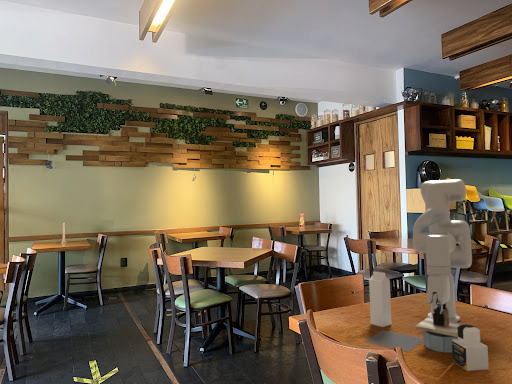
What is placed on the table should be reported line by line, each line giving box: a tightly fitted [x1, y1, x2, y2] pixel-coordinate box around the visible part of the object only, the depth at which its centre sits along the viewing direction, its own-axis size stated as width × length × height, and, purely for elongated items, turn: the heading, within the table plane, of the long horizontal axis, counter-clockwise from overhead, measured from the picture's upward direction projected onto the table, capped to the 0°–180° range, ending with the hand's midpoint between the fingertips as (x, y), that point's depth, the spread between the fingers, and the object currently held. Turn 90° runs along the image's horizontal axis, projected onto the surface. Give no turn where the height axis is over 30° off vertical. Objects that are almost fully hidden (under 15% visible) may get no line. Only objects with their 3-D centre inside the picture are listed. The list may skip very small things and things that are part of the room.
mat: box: [364, 329, 424, 353], centre depth 139 cm, size 16×16×1 cm
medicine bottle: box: [451, 324, 490, 372], centre depth 117 cm, size 7×7×12 cm
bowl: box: [422, 330, 458, 353], centre depth 132 cm, size 11×11×6 cm
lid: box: [414, 309, 468, 337], centre depth 132 cm, size 13×13×6 cm
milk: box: [368, 271, 392, 328], centre depth 159 cm, size 6×6×22 cm
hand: (441, 322), depth 132 cm, fingers closed on lid, 3 cm apart
